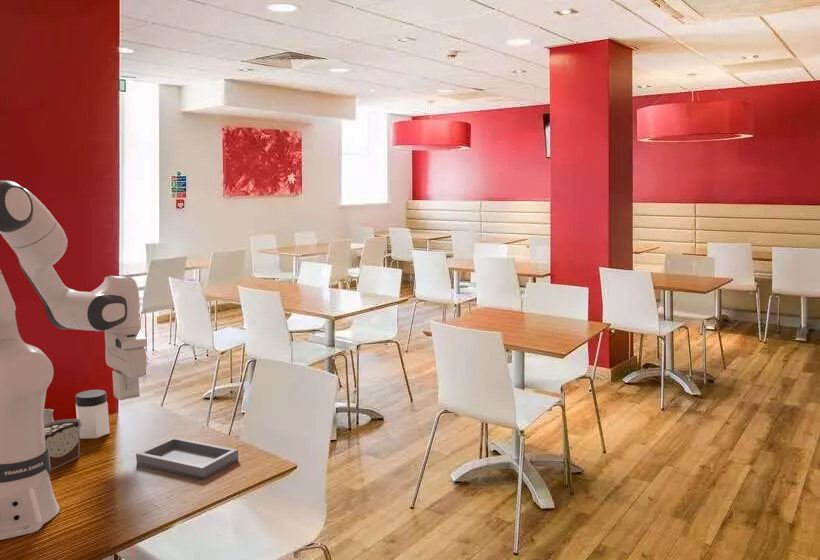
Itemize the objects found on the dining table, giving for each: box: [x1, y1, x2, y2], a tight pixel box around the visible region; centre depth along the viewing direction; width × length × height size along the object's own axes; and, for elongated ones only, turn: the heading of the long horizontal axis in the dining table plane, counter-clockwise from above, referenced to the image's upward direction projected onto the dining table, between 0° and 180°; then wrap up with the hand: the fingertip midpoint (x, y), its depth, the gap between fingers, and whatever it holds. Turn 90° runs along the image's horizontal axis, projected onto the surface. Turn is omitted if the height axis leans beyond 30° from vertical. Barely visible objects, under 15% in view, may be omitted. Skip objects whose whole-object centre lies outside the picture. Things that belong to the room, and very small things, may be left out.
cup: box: [111, 369, 141, 401], centre depth 184 cm, size 5×5×8 cm
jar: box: [74, 389, 110, 440], centre depth 199 cm, size 9×8×12 cm
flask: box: [44, 408, 55, 425], centre depth 191 cm, size 7×7×10 cm
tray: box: [135, 436, 239, 481], centre depth 178 cm, size 13×22×3 cm, turn 64°
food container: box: [44, 418, 81, 472], centre depth 179 cm, size 12×6×10 cm, turn 161°
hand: (126, 387), depth 184 cm, fingers closed on cup, 5 cm apart
